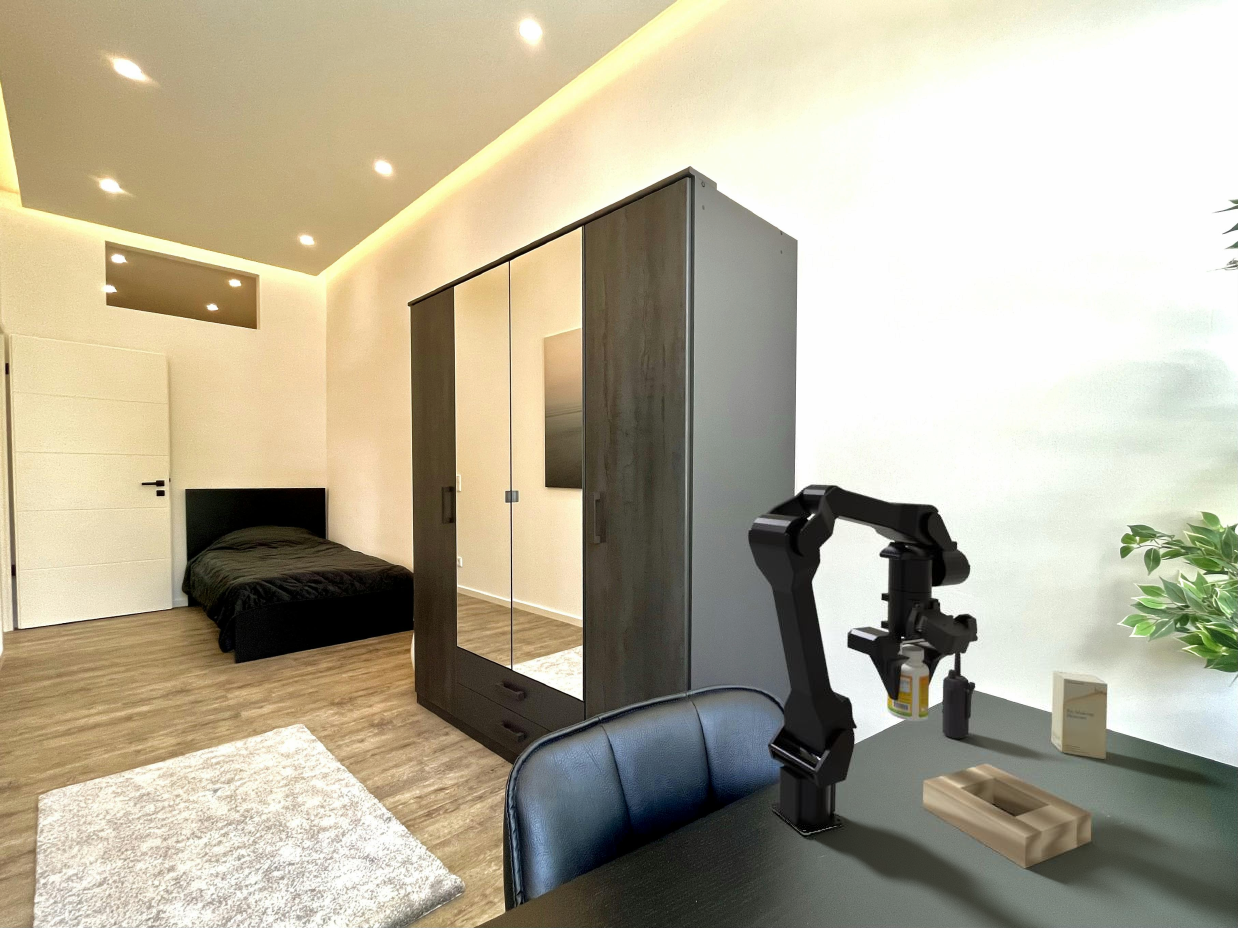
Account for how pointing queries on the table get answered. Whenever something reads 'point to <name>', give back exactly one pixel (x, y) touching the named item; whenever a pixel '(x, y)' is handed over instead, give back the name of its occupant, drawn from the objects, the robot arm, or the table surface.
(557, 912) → the table surface
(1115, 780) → the table surface
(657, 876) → the table surface
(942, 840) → the table surface
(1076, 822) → the socket block
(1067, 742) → the skincare box
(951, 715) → the two-way radio
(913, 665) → the supplement bottle
